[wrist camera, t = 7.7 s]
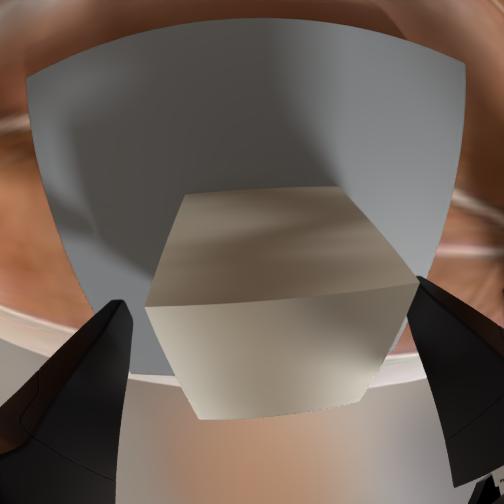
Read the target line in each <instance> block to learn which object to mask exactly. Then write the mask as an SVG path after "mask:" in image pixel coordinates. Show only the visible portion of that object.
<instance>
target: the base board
mask: <svg viewBox="0 0 504 504" xmlns="http://www.w3.org/2000/svg"><path fill="white" fill-rule="evenodd" d="M26 90H27V101H28V110H29V118H30V125H31V131H32V137H33V142H34V148H35V152H36V157H37V162H38V166H39V170H40V174H41V178H42V182H43V186H44V189H45V193H46V196H47V199H48V203H49V206H50V209H51V212H52V215H53V218H54V221H55V224H56V227H57V230H58V232H59V235H60V238H61V240H62V243H63V246H64V248H65V251H66V253H67V256H68V258H69V260H70V263H71V265H72V267H73V270H74V272H75V274H76V276H77V278H78V281H79V283H80V285H81V287H82V289H83V291H84V293H85V295H86V297H87V299H88V301H89V303H90V305H91V307H92V309H93V311H94V313H95V314H96V313H97V312H98V311H99V310H101V309H102V308H103V307H104V306H105V305H106V304H107V303H108V302H109V301H111V300H113V299H122V300H124V301H125V302H126V304H127V306H128V309H129V311H130V313H131V315H132V318H133V334H132V344H131V356H130V367H129V371H130V372H131V374H144V375H169V376H175V374H174V372H173V370H172V368H171V366H170V364H169V362H168V360H167V358H166V356H165V353H164V351H163V349H162V347H161V345H160V343H159V340H158V338H157V336H156V334H155V331H154V329H153V327H152V324H151V322H150V320H149V317H148V315H147V312H146V310H145V307H144V306H145V303H146V300H147V297H148V294H149V291H150V287H151V284H152V281H153V278H154V276H155V273H156V270H157V267H158V264H159V261H160V258H161V255H162V253H163V250H164V247H165V244H166V242H167V239H168V236H169V234H170V231H171V229H172V226H173V223H174V221H175V218H176V216H177V213H178V211H179V208H180V206H181V203H182V201H183V199H184V196H185V195H186V194H196V193H207V192H219V191H232V190H247V189H264V188H285V187H318V186H339V187H340V188H341V189H342V190H343V192H344V193H345V194H346V195H347V196H348V197H349V198H350V199H351V200H352V201H353V202H354V203H355V204H356V205H357V206H358V208H359V209H360V210H361V211H362V212H363V213H364V214H365V215H366V216H367V218H368V219H369V220H370V221H371V222H372V223H373V224H374V225H375V227H376V228H377V229H378V230H379V231H380V232H381V234H382V235H383V236H384V237H385V238H386V240H387V241H388V242H389V243H390V244H391V246H392V247H393V248H394V249H395V250H396V252H397V253H398V254H399V255H400V257H401V258H402V259H403V261H404V262H405V263H406V264H407V266H408V267H409V268H410V270H411V271H412V272H413V273H414V275H415V276H422V277H424V278H425V279H426V278H427V275H428V273H429V270H430V267H431V265H432V262H433V259H434V256H435V253H436V250H437V247H438V244H439V241H440V238H441V234H442V231H443V228H444V224H445V221H446V217H447V213H448V210H449V206H450V202H451V197H452V193H453V188H454V184H455V179H456V174H457V168H458V163H459V157H460V150H461V143H462V135H463V125H464V114H465V96H466V64H465V63H463V62H460V61H458V60H456V59H454V58H452V57H449V56H447V55H445V54H442V53H440V52H437V51H435V50H432V49H430V48H427V47H424V46H422V45H419V44H416V43H413V42H410V41H407V40H404V39H400V38H397V37H394V36H390V35H386V34H383V33H379V32H375V31H371V30H366V29H362V28H357V27H352V26H346V25H340V24H334V23H327V22H320V21H311V20H300V19H284V18H236V19H220V20H210V21H201V22H193V23H186V24H180V25H174V26H168V27H163V28H158V29H154V30H149V31H145V32H141V33H137V34H133V35H130V36H126V37H123V38H119V39H116V40H113V41H110V42H107V43H104V44H101V45H98V46H95V47H92V48H90V49H87V50H85V51H82V52H79V53H77V54H75V55H72V56H70V57H68V58H65V59H63V60H61V61H59V62H57V63H54V64H52V65H50V66H48V67H46V68H44V69H42V70H40V71H38V72H37V73H35V74H33V75H31V76H29V77H27V78H26ZM407 322H408V320H407V316H406V317H405V319H404V321H403V323H402V326H401V328H400V330H399V332H398V334H397V336H396V338H395V340H394V342H393V344H392V346H391V348H390V350H389V352H393V350H394V348H395V346H396V344H397V342H398V340H399V338H400V336H401V334H402V332H403V330H404V328H405V326H406V324H407ZM389 352H388V353H389Z"/></svg>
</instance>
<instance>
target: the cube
mask: <svg viewBox="0 0 504 504" xmlns="http://www.w3.org/2000/svg"><path fill="white" fill-rule="evenodd" d="M419 284H420V282H419V280H418V279H417V277H416V276H415V275H414V273H413V272H412V271H411V270H410V268H409V267H408V266H407V264H406V263H405V262H404V261H403V259H402V258H401V257H400V255H399V254H398V253H397V252H396V250H395V249H394V248H393V247H392V246H391V244H390V243H389V242H388V241H387V240H386V238H385V237H384V236H383V235H382V234H381V232H380V231H379V230H378V229H377V228H376V227H375V225H374V224H373V223H372V222H371V221H370V220H369V219H368V218H367V216H366V215H365V214H364V213H363V212H362V211H361V210H360V209H359V208H358V206H357V205H356V204H355V203H354V202H353V201H352V200H351V199H350V198H349V197H348V196H347V195H346V194H345V193H344V192H343V190H342V189H341V188H340V187H339V186H318V187H285V188H264V189H247V190H232V191H219V192H207V193H196V194H186V195H185V196H184V199H183V201H182V203H181V206H180V208H179V211H178V213H177V216H176V218H175V221H174V223H173V226H172V229H171V231H170V234H169V236H168V239H167V242H166V244H165V247H164V250H163V253H162V255H161V258H160V261H159V264H158V267H157V270H156V273H155V276H154V278H153V281H152V284H151V287H150V291H149V294H148V297H147V300H146V303H145V306H144V307H145V310H146V312H147V315H148V317H149V320H150V322H151V324H152V327H153V329H154V331H155V334H156V336H157V338H158V340H159V343H160V345H161V347H162V349H163V351H164V353H165V356H166V358H167V360H168V362H169V364H170V366H171V368H172V370H173V372H174V374H175V376H176V378H177V380H178V382H179V384H180V386H181V388H182V389H183V391H184V393H185V395H186V397H187V399H188V400H189V402H190V404H191V406H192V408H193V409H194V411H195V413H196V415H197V416H198V418H199V419H200V420H202V419H203V420H218V419H245V418H260V417H271V416H280V415H288V414H296V413H303V412H310V411H316V410H322V409H328V408H333V407H338V406H343V405H347V404H352V403H356V402H359V401H360V400H361V398H362V396H363V395H364V393H365V392H366V390H367V389H368V387H369V385H370V384H371V382H372V380H373V379H374V377H375V375H376V373H377V372H378V370H379V368H380V366H381V365H382V363H383V361H384V359H385V357H386V355H387V354H388V352H389V350H390V348H391V346H392V344H393V342H394V340H395V338H396V336H397V334H398V332H399V330H400V328H401V326H402V323H403V321H404V319H405V317H406V315H407V312H408V310H409V308H410V306H411V303H412V301H413V298H414V296H415V294H416V291H417V289H418V286H419Z"/></svg>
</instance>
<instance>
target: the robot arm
mask: <svg viewBox="0 0 504 504" xmlns="http://www.w3.org/2000/svg"><path fill="white" fill-rule="evenodd" d="M416 277H417V279H418V280H419V282H420V284H419V286H418V289H417V291H416V294H415V296H414V298H413V301H412V303H411V306H410V308H409V310H408V312H407V315H406V316H407V320H408V323H409V326H410V330H411V333H412V336H413V340H414V343H415V345H416V348H417V351H418V353H419V356H420V359H421V361H422V364H423V367H424V370H425V373H426V376H427V379H428V382H429V385H430V388H431V391H432V394H433V398H434V401H435V404H436V408H437V411H438V414H439V419H440V422H441V426H442V430H443V434H444V438H445V444H446V448H447V453H448V458H449V463H450V469H451V474H452V481H453V486H454V488H456V487H458V486H461V485H464V484H466V483H468V482H471V481H473V480H475V479H477V478H480V477H482V476H484V475H486V474H488V473H490V472H491V473H490V474H488V475H487V476H486V477H485V478H483V479H482V480H480V481H479V482H477V483H476V486H475V488H474V491H473V493H472V496H471V498H470V500H469V502H468V504H504V329H503V328H502V327H501V326H498V325H497V324H496V323H495V322H493V321H492V320H490V319H489V318H487V317H486V316H484V315H483V314H481V313H480V312H478V311H477V310H475V309H474V308H472V307H471V306H469V305H467V304H466V303H464V302H463V301H461V300H460V299H458V298H456V297H455V296H453V295H452V294H450V293H448V292H447V291H445V290H444V289H442V288H440V287H439V286H437V285H435V284H434V283H432V282H430V281H429V280H427V279H425V278H424V277H422V276H416ZM132 334H133V318H132V315H131V313H130V311H129V309H128V306H127V304H126V302H125V301H124V300H122V299H113V300H111V301H109V302H108V303H107V304H106V305H105V306H104V307H103V308H102V309H101V310H99V311H98V312H97V313H96V314H95V315H94V316H93V317H92V318H91V319H90V320H89V321H88V322H86V323H85V324H84V325H83V326H82V327H81V328H80V329H79V330H78V331H77V332H76V333H75V334H74V335H73V336H72V337H71V338H70V339H69V340H68V341H67V342H66V343H64V344H63V345H62V346H61V347H60V348H59V349H58V350H57V351H56V352H55V353H54V354H53V355H52V356H51V357H50V358H49V360H47V361H46V362H45V363H44V365H42V366H41V367H40V369H39V370H38V371H37V372H36V373H35V374H34V375H33V376H32V377H31V378H30V379H29V380H28V381H27V382H26V383H25V384H24V385H23V386H22V387H21V388H20V389H19V390H18V391H17V392H16V393H15V394H14V395H13V396H12V397H10V398H9V399H8V400H7V401H6V402H5V403H4V404H3V405H2V406H1V407H0V504H115V496H116V481H115V480H116V470H117V455H118V445H119V435H120V426H121V418H122V410H123V404H124V397H125V391H126V385H127V379H128V373H129V367H130V356H131V344H132Z"/></svg>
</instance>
